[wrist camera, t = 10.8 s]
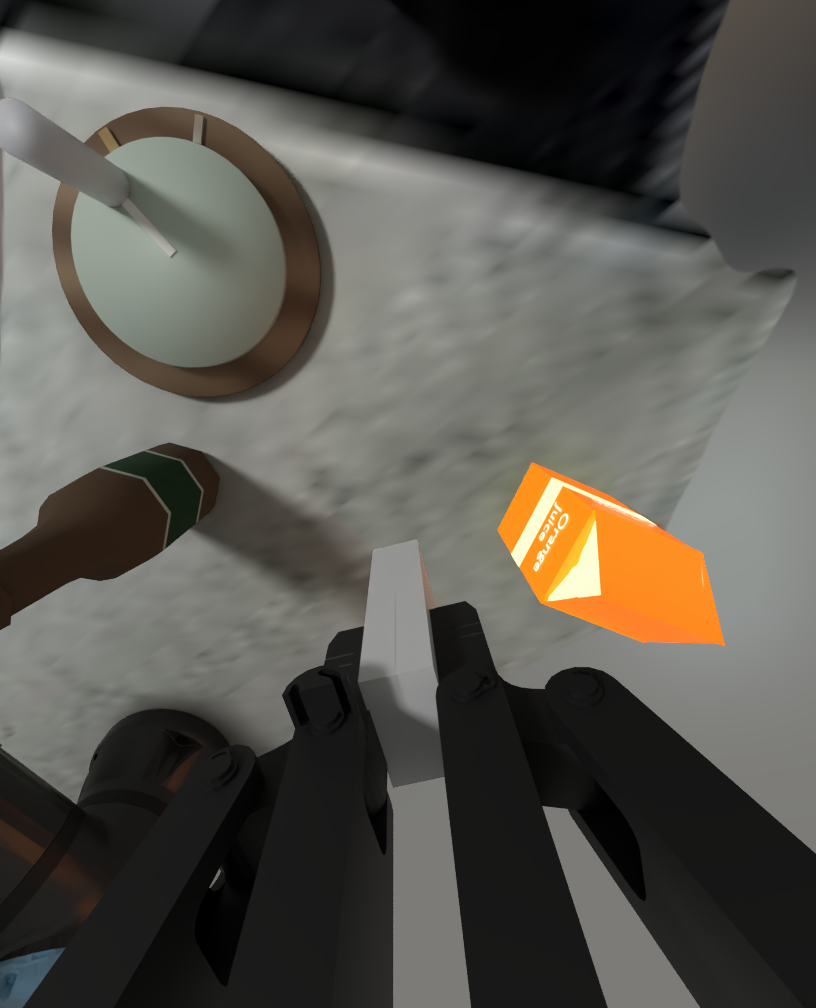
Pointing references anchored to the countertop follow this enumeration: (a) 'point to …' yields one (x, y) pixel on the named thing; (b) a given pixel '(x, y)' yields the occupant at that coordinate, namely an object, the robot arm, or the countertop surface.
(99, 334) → the walnut base
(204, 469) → the beer bottle
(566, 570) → the orange juice
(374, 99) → the countertop surface
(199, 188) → the capstan dial
